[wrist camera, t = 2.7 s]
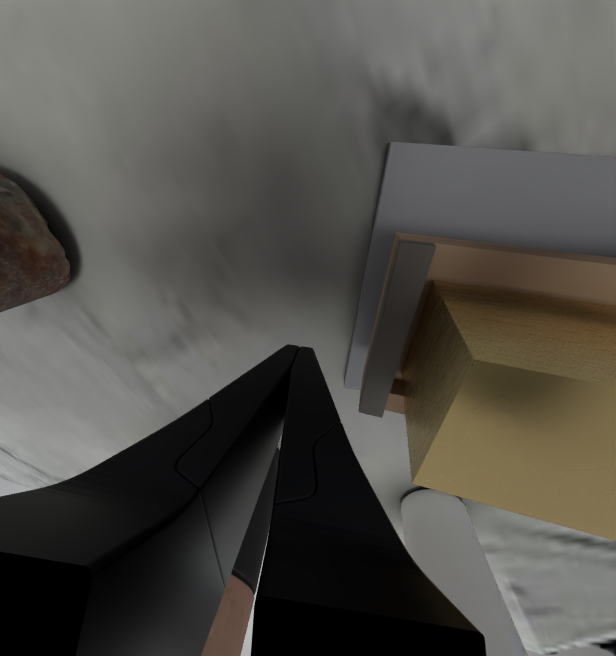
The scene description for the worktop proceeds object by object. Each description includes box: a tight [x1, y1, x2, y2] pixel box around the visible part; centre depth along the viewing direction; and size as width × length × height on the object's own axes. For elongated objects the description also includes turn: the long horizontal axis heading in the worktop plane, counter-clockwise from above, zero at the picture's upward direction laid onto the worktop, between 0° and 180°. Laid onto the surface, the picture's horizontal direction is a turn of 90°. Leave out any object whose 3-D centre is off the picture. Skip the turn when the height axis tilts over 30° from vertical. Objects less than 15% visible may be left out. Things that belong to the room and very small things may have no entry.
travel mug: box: [201, 448, 280, 656], centre depth 15 cm, size 8×8×20 cm
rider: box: [401, 279, 616, 541], centre depth 8 cm, size 6×4×5 cm
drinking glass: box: [401, 489, 528, 656], centre depth 16 cm, size 7×7×15 cm
